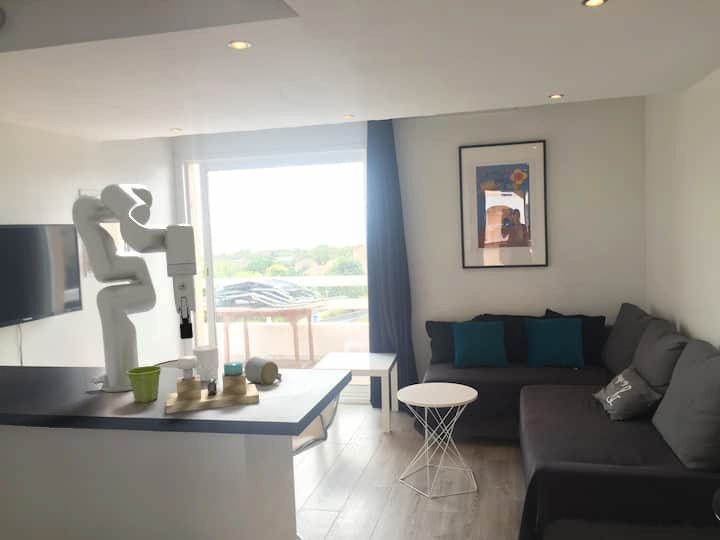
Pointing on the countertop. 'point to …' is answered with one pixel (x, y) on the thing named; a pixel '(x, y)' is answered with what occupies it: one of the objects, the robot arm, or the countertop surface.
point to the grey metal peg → (212, 387)
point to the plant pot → (145, 382)
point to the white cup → (206, 362)
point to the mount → (196, 398)
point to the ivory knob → (187, 366)
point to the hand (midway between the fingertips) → (186, 338)
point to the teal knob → (233, 368)
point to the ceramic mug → (261, 371)
